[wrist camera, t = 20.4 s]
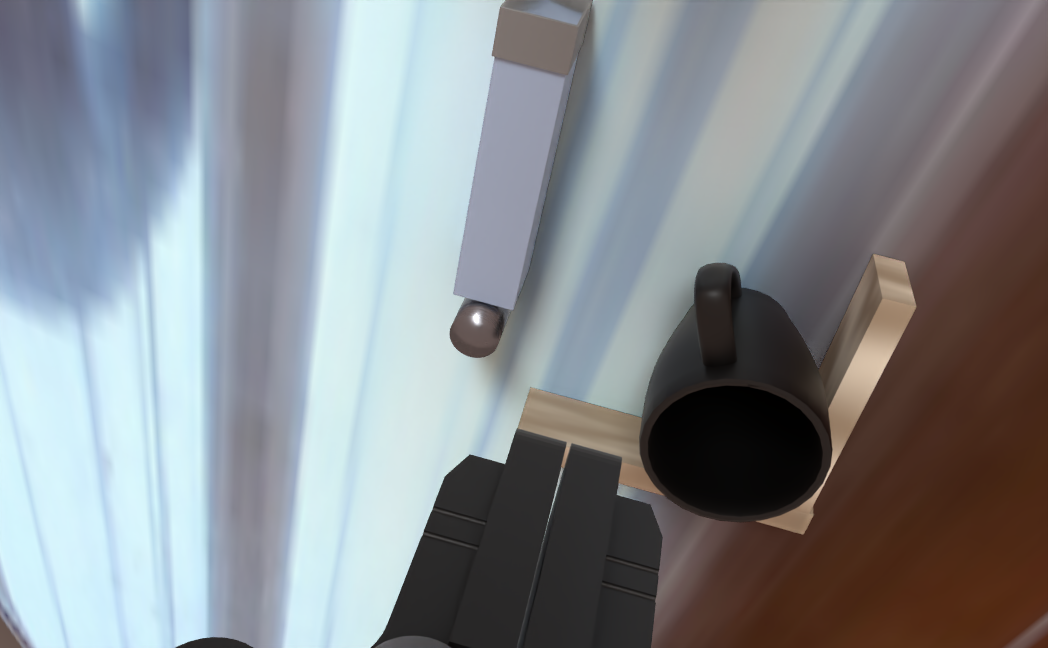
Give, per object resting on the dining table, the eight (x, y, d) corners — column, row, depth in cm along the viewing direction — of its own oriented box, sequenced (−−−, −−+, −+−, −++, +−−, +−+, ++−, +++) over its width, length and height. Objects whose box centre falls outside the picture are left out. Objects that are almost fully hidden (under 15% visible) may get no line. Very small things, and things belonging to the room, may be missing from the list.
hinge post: (478, 257, 49) (453, 310, 45) (523, 269, 49) (501, 324, 45) (472, 294, 51) (446, 350, 46) (515, 306, 51) (493, 363, 46)
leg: (531, 269, 49) (514, 313, 45) (471, 253, 49) (450, 295, 45) (593, -2, 41) (578, 27, 37) (521, -20, 41) (500, 6, 37)
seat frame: (581, 177, 46) (568, 215, 42) (909, 263, 45) (922, 308, 42) (525, 407, 54) (511, 453, 51) (800, 482, 53) (803, 534, 50)
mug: (814, 185, 44) (827, 293, 36) (822, 393, 50) (835, 524, 42) (637, 201, 46) (613, 306, 38) (665, 399, 52) (650, 523, 44)
